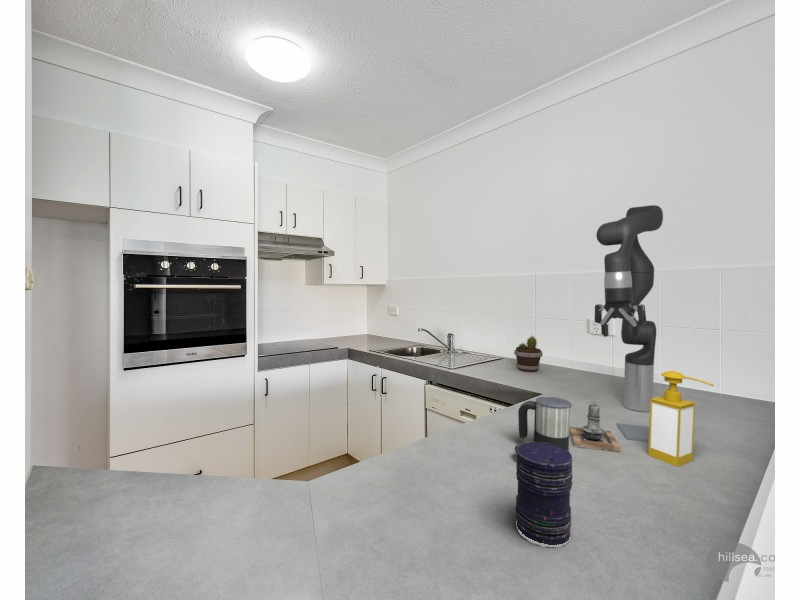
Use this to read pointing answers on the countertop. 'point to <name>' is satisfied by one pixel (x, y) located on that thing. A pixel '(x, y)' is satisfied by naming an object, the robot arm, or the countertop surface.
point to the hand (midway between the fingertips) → (620, 337)
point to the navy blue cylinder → (544, 492)
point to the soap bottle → (672, 423)
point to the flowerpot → (528, 356)
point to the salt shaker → (593, 425)
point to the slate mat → (634, 431)
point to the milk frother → (547, 421)
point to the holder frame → (611, 439)
